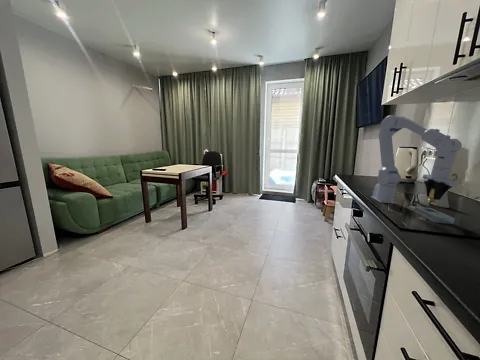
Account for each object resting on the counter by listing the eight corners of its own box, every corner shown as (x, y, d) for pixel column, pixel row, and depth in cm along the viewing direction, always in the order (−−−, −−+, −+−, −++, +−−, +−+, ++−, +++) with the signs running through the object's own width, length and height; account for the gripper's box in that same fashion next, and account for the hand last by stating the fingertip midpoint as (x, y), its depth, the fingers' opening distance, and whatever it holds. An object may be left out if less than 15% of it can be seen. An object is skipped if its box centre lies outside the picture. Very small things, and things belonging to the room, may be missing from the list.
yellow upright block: (425, 200, 90) (429, 187, 88) (432, 200, 89) (436, 188, 88) (431, 202, 87) (435, 189, 85) (438, 203, 87) (442, 189, 85)
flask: (433, 206, 103) (438, 187, 101) (428, 202, 110) (433, 184, 107) (452, 209, 100) (458, 190, 98) (445, 205, 107) (451, 187, 104)
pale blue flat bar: (407, 208, 98) (408, 203, 97) (422, 209, 97) (423, 204, 97) (434, 222, 82) (436, 216, 82) (453, 223, 82) (454, 218, 81)
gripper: (418, 164, 92) (411, 192, 95) (447, 170, 78) (437, 202, 81) (435, 165, 91) (427, 193, 94) (467, 171, 77) (456, 204, 80)
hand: (433, 198), depth 88 cm, fingers closed on yellow upright block, 3 cm apart
